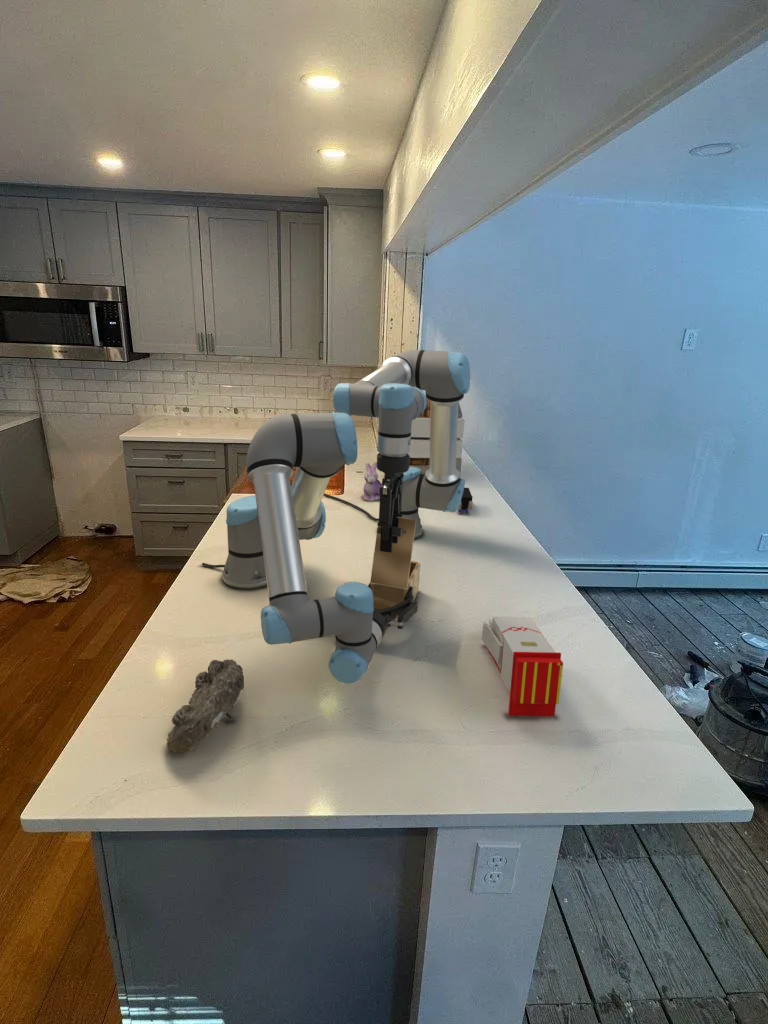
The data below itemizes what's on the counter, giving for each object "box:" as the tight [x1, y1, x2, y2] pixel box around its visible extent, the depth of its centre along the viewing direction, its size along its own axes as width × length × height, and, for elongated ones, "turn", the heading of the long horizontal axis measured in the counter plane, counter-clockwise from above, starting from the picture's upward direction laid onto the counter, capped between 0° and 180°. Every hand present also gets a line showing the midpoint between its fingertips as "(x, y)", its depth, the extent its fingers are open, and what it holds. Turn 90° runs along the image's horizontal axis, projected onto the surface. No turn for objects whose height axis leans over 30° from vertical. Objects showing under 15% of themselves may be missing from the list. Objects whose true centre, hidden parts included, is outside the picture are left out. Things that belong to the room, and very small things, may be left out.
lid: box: [369, 517, 416, 588], centre depth 139 cm, size 17×10×8 cm
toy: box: [481, 615, 564, 718], centre depth 123 cm, size 12×13×30 cm
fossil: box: [166, 658, 245, 754], centre depth 106 cm, size 22×10×15 cm
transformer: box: [408, 398, 465, 475], centre depth 268 cm, size 34×33×41 cm
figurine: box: [362, 461, 382, 502], centre depth 233 cm, size 9×10×15 cm
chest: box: [370, 560, 421, 619], centre depth 152 cm, size 16×10×9 cm, turn 165°
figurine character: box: [457, 487, 474, 514], centre depth 226 cm, size 7×8×15 cm
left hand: (391, 588), depth 147 cm, fingers closed on chest, 9 cm apart
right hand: (388, 546), depth 137 cm, fingers open, 5 cm apart
